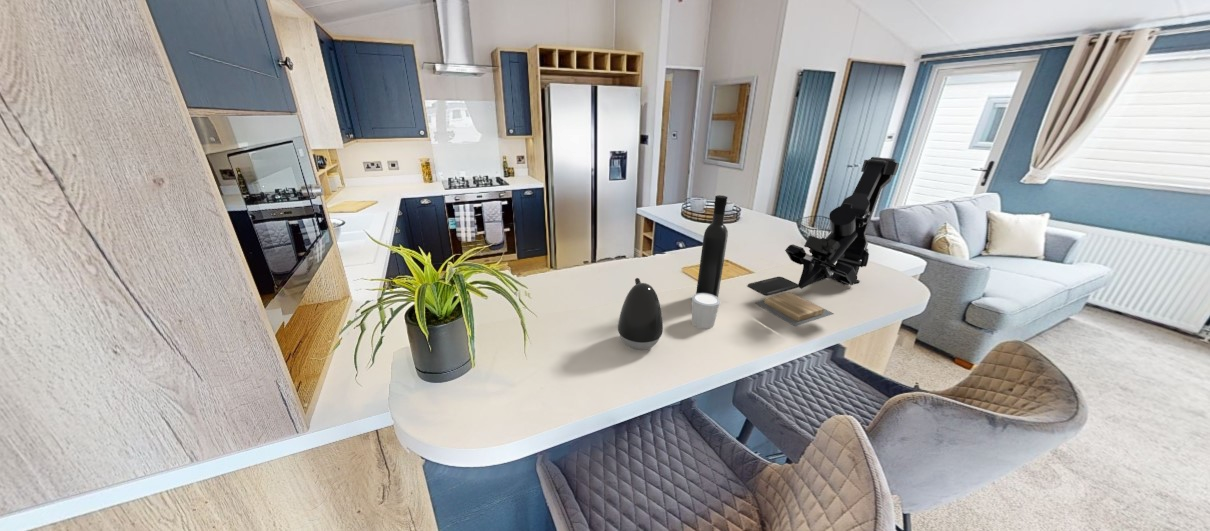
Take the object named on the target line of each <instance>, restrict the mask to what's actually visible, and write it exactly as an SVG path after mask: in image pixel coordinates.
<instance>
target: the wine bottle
mask: <svg viewBox="0 0 1210 531" xmlns="http://www.w3.org/2000/svg"><path fill="white" fill-rule="evenodd" d="M727 202H728V196H727V195H715V198H714V208H713V214H712V222H711V223H710V224H709V225H708V226H707V227H706V229H705V230H704V233H703V239H702V247H701V253H700V254H701V255H700V262H699V263H700V264H699V269H698V270H699V271H698V276H697V284H696V292H695V294H697V293H708V294H712V295H714V296H716V297H718V298H719V296H720V295H719V294H720V288H721V281H722V275H723V268H724V262H725V255H726V251H727V250H726V249H727V243H728V237H729V236H728V235H729V233H728V232H729V231H728V228H727V226H726V225H725V224H724V221H725V220H724V219H725V214H726V213H725V212H726V206H727V204H728V203H727Z"/></svg>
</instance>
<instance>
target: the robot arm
mask: <svg viewBox="0 0 1210 531" xmlns="http://www.w3.org/2000/svg"><path fill="white" fill-rule="evenodd" d="M896 160H897V159H896V158H888V157H887V158H886V157H877V156H876V157H875V156H872V157H870V159H864V160H863V164H862V167H861V170H860V172H862V174H861V176H860V179H859V180H858V183H857V184H856V186H855V188H854V190H853V192H852V194H851V195H849V196H847V197H845V198H844V199H843V200H842V202H841V204H840V205H838V206H837V207H835V208H833V209H832V210H831V211H830V212H829V216H828V217H829V218H828V219H829V230H830V233H829V234H828V235H827V236H826V238H825V237H822V238H820V237H816V236H814V235H809V236H808V238H807V240H806V242H805V243H804V244H803V247H804V248H808V249H809V250H808V251H809V253H810V254H808V253H807V252H806V251H805V249H804V248H803V247H801V246H799V245H796V244H790V245H788V246H787V247H786V249H784V251H785V253H786V254H787V256H788V257H789V259H790V261H792V263H795V264H798V265H800V266H801V265H803V266H802V272H801V275H800V277H799V280H798V283H797V284H798V288H799V289H804V288H806V287H808V286H810V285H814V284H815V283H817V282H820V281H823V280H831V279H833V280H836V281H837V282H839V283H841V284H843V285H846V284H847V285H848V286H853V285H854V284H857V283H860V282H861V280H859V279H858V273H859V271H860V268H863V267H865V268H866V267H867V265H868V262H869V257H870V253H869V248H868V244H869V242H868V240H867V237H866V234H867V230H868V228H869V225H870V222H871V219H872V217H873V214H874V212H875V209H876V205H877V204H878V203H877V202H878V199H879V197H880V194H881V192H882V189H884V188H885V187H886V186H887V185H888V184H890V183H891V181H892V178H893V176H896V175H897V172H898V171H899V167H900V163H899V162H896Z"/></svg>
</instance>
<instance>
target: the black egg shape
mask: <svg viewBox="0 0 1210 531" xmlns="http://www.w3.org/2000/svg"><path fill="white" fill-rule="evenodd" d="M634 282H635V284H634V285H633V286H632V287H631V288H630V290H629V292H628V293H627V295H626V297H625V299H624V301H623V304H622V306H621V310H620V313H619V317H618V322H617V331H618V334H619V337H620V339H621V341H622V343H624V344H625V345H626V346H627V347H629V348H631V349H634V350H638V351H644V350H648V349H651V348H653V347H654V346H656V344H657V343H658V342H659V340H660V338H661V337H662V336H663V332H664V331H663V330H664V327H663V326H664V325H663V315H662V314H663V313H662V308H661V304H660V300H659V297H658V295H657V293H656V291H655V289H654V287H653V286H652V285H650V284H649V283H646V282H641V280H640V278H638V277H636V278H635V279H634Z"/></svg>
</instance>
